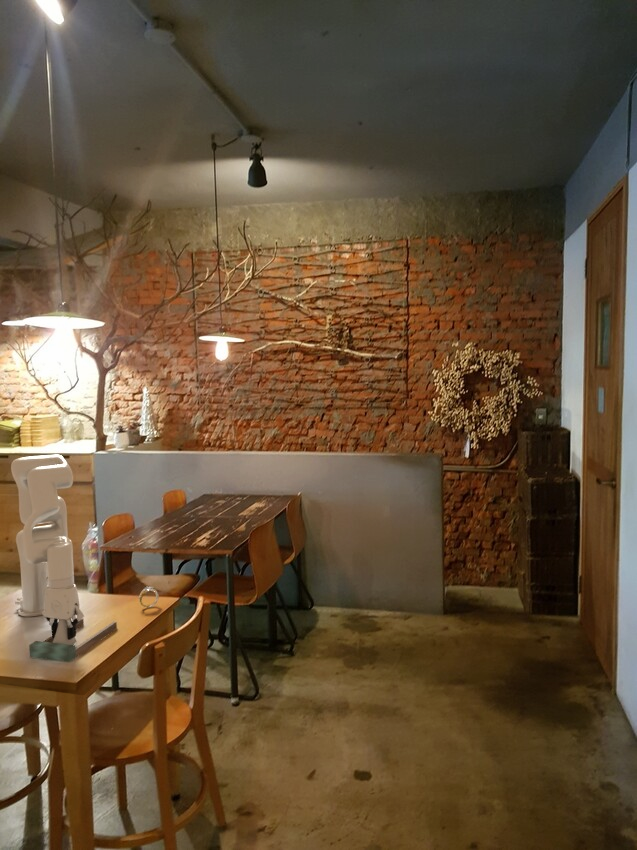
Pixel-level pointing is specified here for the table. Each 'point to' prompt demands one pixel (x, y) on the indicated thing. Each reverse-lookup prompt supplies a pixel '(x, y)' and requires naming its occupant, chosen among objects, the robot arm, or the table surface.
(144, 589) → the ring
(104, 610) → the table surface
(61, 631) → the flask
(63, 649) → the guide channel
